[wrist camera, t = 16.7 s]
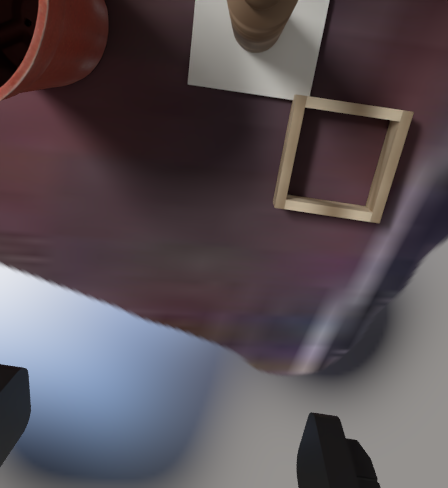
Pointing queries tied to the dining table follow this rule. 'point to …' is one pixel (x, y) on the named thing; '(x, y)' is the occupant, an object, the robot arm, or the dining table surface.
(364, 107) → the collar
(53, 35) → the flower pot
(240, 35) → the pepper mill
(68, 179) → the dining table surface
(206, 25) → the mat
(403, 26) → the dining table surface
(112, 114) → the dining table surface
